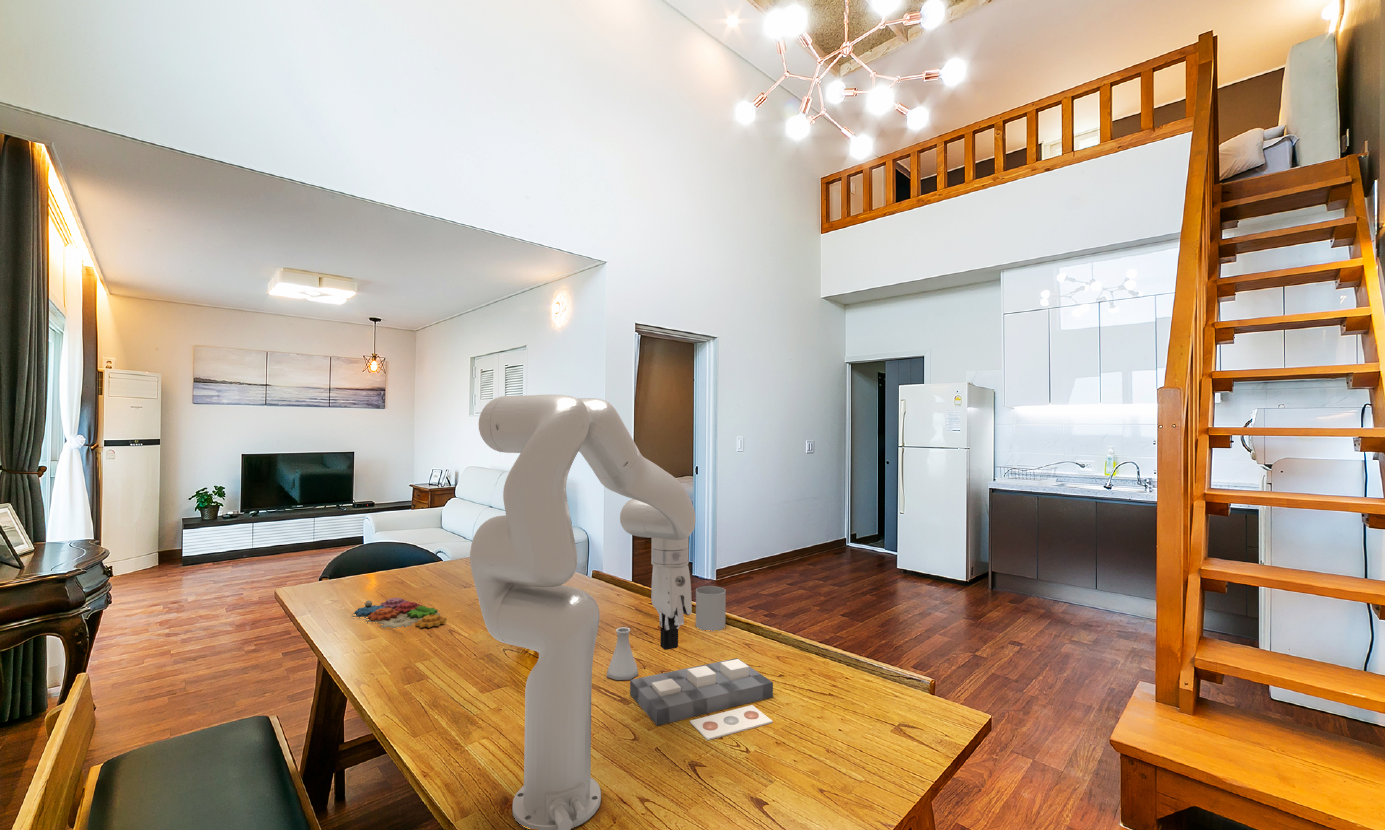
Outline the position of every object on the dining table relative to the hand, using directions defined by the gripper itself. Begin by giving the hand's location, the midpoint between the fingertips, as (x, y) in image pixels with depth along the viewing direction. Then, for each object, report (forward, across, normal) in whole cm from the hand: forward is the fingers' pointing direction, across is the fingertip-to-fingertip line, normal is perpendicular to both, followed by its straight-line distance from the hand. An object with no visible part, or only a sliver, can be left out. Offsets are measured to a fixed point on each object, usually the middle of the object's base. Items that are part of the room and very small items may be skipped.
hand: (669, 647), depth 116 cm
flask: (+11, +17, +4) cm, 21 cm away
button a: (+10, 0, -15) cm, 18 cm away
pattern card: (+11, -12, -7) cm, 18 cm away
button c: (+11, 0, +1) cm, 11 cm away
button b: (+10, 0, -7) cm, 12 cm away
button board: (+11, 0, -7) cm, 13 cm away
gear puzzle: (+12, +80, +47) cm, 94 cm away
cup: (+11, +36, -30) cm, 48 cm away
